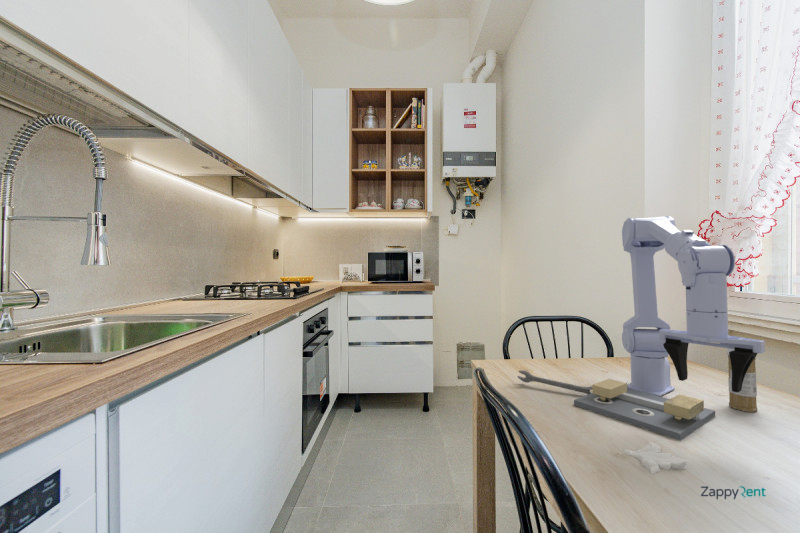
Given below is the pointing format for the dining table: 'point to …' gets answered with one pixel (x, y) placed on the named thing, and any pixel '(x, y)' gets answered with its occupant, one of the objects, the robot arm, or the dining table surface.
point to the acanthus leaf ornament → (656, 458)
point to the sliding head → (683, 407)
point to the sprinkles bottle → (744, 389)
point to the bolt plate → (639, 409)
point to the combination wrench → (553, 383)
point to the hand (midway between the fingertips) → (708, 384)
